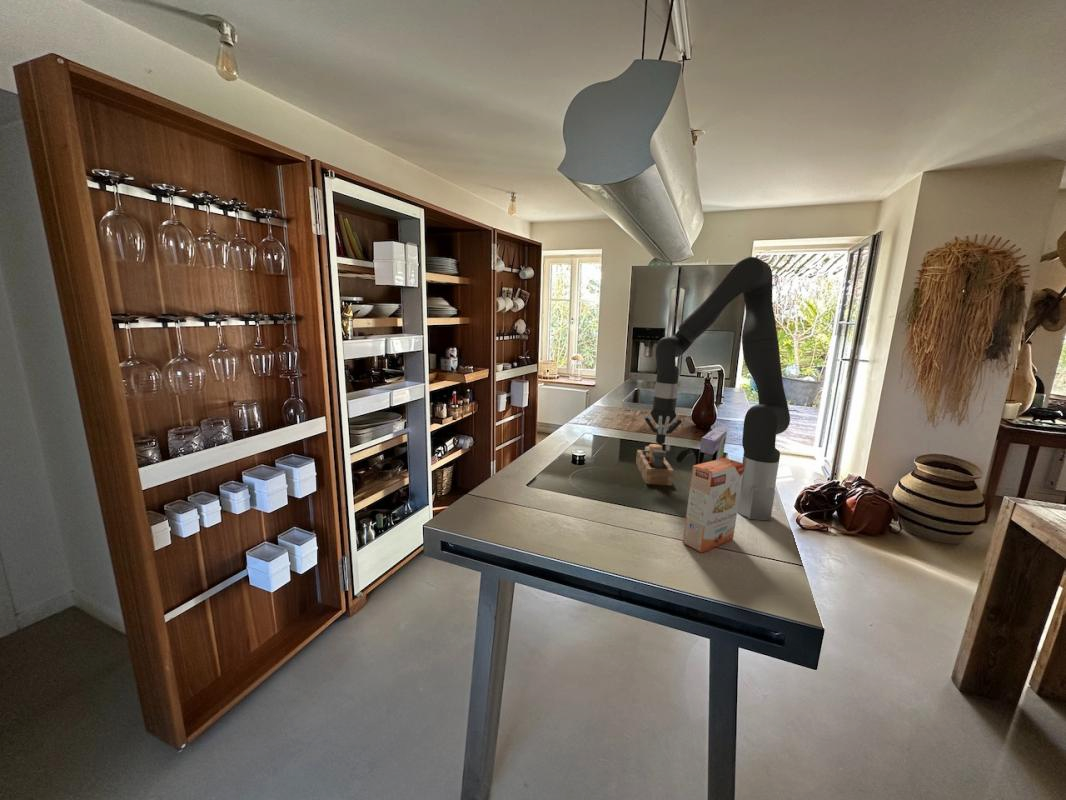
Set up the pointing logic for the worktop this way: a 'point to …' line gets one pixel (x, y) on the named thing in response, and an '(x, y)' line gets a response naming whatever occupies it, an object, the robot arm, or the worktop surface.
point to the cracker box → (713, 503)
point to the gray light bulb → (658, 458)
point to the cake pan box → (712, 446)
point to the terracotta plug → (653, 447)
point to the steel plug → (647, 451)
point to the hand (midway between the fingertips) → (659, 444)
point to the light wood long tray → (654, 470)
